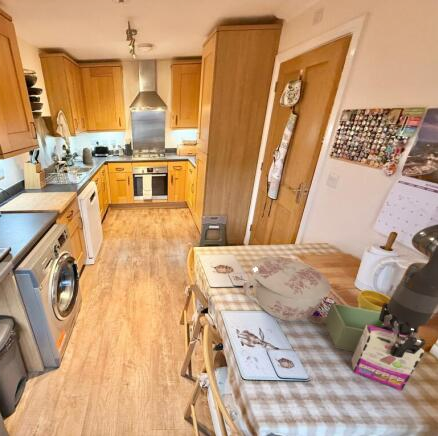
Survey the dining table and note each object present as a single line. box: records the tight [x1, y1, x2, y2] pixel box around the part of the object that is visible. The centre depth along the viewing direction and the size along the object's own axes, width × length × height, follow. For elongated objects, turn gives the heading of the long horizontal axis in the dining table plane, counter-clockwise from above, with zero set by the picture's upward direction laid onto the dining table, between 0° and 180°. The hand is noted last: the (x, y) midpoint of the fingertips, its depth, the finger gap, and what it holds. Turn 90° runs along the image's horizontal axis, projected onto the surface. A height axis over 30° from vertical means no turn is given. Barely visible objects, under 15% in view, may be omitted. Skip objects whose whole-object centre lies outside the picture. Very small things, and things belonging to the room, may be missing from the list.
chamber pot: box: [242, 256, 332, 322], centre depth 94 cm, size 28×28×21 cm
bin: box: [324, 302, 394, 353], centre depth 81 cm, size 17×12×10 cm
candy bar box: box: [350, 324, 425, 391], centre depth 68 cm, size 11×5×16 cm, turn 59°
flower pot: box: [356, 289, 391, 312], centre depth 89 cm, size 10×10×10 cm
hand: (389, 346), depth 67 cm, fingers closed on candy bar box, 5 cm apart
